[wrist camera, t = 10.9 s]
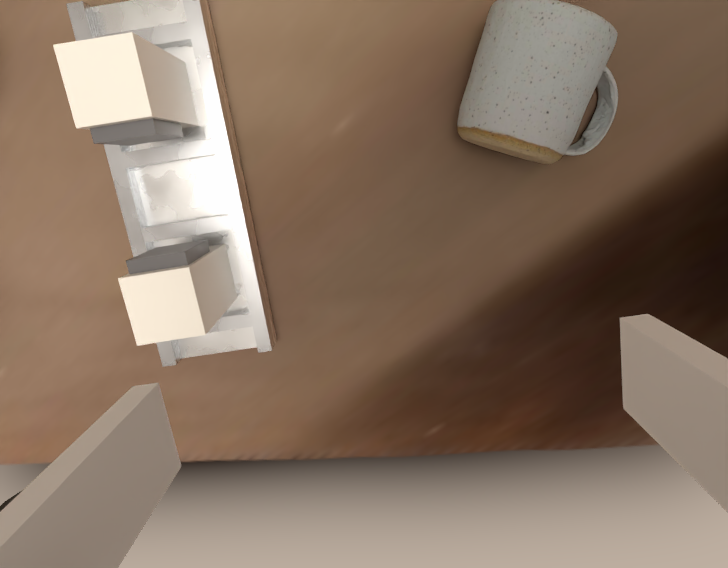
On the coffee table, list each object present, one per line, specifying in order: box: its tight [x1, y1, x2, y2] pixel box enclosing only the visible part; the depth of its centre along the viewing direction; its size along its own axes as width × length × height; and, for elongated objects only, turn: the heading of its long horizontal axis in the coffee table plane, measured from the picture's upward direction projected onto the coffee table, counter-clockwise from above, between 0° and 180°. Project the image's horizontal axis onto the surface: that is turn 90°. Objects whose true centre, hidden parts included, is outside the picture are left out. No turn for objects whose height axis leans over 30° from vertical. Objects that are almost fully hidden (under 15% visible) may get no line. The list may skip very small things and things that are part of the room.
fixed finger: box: [53, 32, 199, 146], centre depth 29 cm, size 4×5×8 cm
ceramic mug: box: [457, 0, 618, 164], centre depth 31 cm, size 11×8×8 cm
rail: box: [67, 0, 277, 367], centre depth 35 cm, size 8×24×2 cm, turn 9°
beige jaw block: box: [118, 239, 237, 346], centre depth 32 cm, size 4×5×8 cm
